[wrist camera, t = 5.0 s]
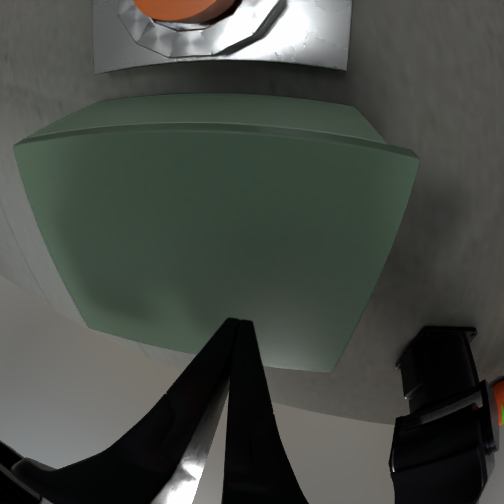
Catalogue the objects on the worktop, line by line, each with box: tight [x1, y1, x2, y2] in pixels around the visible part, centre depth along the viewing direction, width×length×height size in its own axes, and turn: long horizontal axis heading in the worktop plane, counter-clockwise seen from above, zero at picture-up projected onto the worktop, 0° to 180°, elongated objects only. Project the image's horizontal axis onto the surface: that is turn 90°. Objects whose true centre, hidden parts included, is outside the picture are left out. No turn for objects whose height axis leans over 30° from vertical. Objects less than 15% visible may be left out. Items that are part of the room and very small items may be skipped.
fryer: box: [27, 93, 387, 144], centre depth 14 cm, size 14×12×6 cm
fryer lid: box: [13, 123, 420, 372], centre depth 11 cm, size 14×12×1 cm
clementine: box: [492, 380, 504, 426], centre depth 24 cm, size 8×7×7 cm
